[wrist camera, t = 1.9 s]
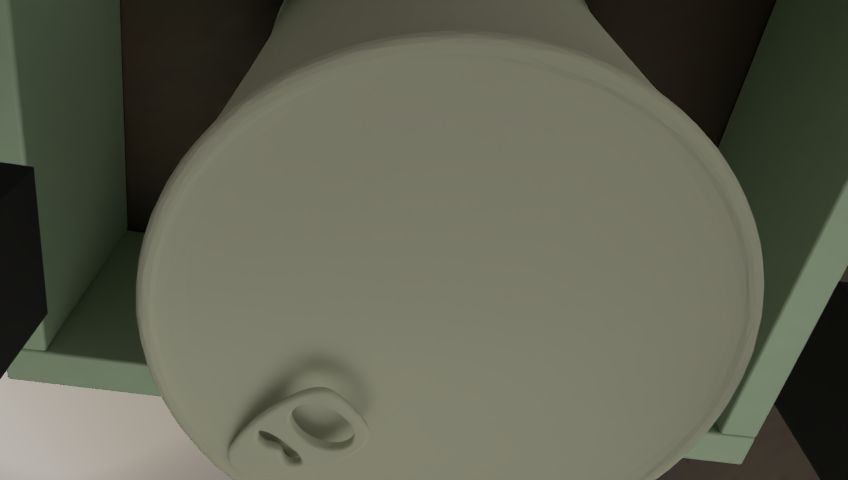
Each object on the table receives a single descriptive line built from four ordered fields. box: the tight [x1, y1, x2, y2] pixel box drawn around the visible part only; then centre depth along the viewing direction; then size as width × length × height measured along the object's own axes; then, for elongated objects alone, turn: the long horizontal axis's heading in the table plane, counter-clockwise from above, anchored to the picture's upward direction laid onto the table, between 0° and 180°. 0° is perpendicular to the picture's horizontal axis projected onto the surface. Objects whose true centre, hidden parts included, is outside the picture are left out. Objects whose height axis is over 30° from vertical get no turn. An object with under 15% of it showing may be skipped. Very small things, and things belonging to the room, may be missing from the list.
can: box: [136, 0, 764, 480], centre depth 16 cm, size 9×9×12 cm
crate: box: [0, 0, 848, 464], centre depth 18 cm, size 14×19×6 cm
